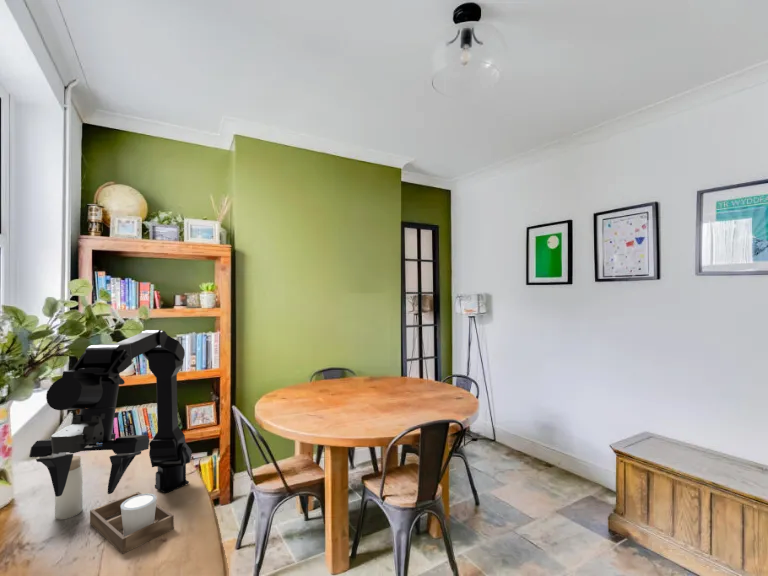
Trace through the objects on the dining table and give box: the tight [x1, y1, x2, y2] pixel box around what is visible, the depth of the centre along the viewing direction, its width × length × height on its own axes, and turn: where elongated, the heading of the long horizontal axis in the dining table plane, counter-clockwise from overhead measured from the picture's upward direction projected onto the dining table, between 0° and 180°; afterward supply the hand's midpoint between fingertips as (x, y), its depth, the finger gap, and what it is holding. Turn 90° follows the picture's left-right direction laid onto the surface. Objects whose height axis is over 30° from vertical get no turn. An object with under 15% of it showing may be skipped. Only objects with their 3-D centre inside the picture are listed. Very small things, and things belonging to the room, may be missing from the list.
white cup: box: [120, 493, 158, 537], centre depth 85 cm, size 7×7×7 cm
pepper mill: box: [54, 455, 84, 520], centre depth 93 cm, size 5×5×13 cm
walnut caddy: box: [89, 491, 175, 555], centre depth 88 cm, size 10×18×3 cm, turn 54°
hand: (84, 494), depth 72 cm, fingers open, 9 cm apart
